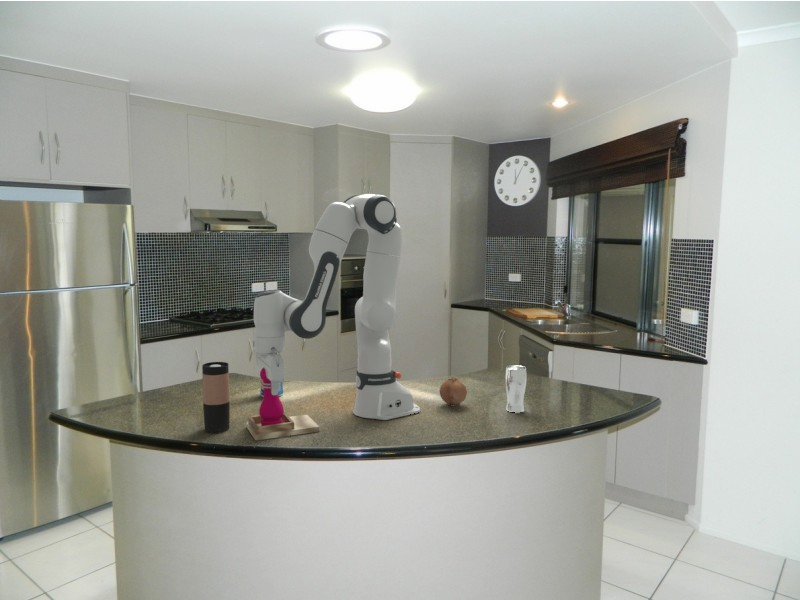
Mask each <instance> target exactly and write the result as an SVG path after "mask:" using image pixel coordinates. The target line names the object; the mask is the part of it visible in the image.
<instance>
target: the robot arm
mask: <svg viewBox="0 0 800 600" xmlns="http://www.w3.org/2000/svg"><path fill="white" fill-rule="evenodd" d="M396 209H397V208H396V205H395V203H394V202H393V200H392V199H391V198H390V197H388V196H386V195H384V194H383V195H382V194H374V193H365V194H360V195H359V194H356V195H355V194H354V195H352V196H350V197H349V196H348V198H346V199H345V200H344V201H343V202H341V201H340V202H339V201H334V202H331V203H330V204H328V205H327V207H326V208H325V210H324V211H323V213H322V214H321V216H320V217H319V219H318V222H317V223H316V226H315V228H314V230H313V233H312V235H311V237H310V240H309V247H308V254H309V256H310V259H311V260H312V262H313V270H314V271H313V276H312V278H311V280H310V284H309V287H308V289H307V292H306V295H305V298H304V299H303V300H300V299H298V298H294V297H292V296H290V295H288V294H286V293H284V292H282V291H281V290H280V289H269V290H265V291H261V292H259V293H258V294H257V295H256V296H255V299H254V303H253V323H254V326H255V327H254V333H253V340H252V346H253V348H254V352H255V361H256V366H257V369H258V371H259V372H260V371H261V370H262V368H265V371H266V377H267V378H268V379H269V380H270V381H271V384H272V385H271V394H272V395H277V394H278V387H279V382H283V383H284V381H285V363H284V358H283V355H282V354H281V353H282V352H284V351H285V350H286V337H285V333H286V332H287V331H288V332H289V331H291V332H293V333H294V334H295V335H296V336H297V337H299V338H301V339H303V340H305V339H306V340H308V339H313V338H316V337H317V336H319V335H320V334H321V333H322V332H323V330H324V328H325V327H326V321H327V318H326V317H327V316H326V315H327V305H328V302H329V298H330V296H331V292H332V290H333V287H334V284H335V282H336V278H337V275H338V271H339V268H340V265H341V263H342V260H343V258H344V255H345V252H346V250H347V248H348V245H349V243H350V240H351V237H352V235H353V233H354V232H355V231H356V230H357V229H360V230H366V232H367V234H368V235H367V236H368V243H367V247H366V254H365V255H366V256H365V262H364V267H363V273H362V274H363V288H362V289H363V291H362V296H361V297H360V298H359V299H358V300H357V301H356V303H355V306H354V319H355V320H354V321H355V333H356V343H357V370H356V374H355V375H356V377H355V383H356V384H355V385H356V395H355V396H356V397H355V401H354V407H353V410H352V413H353V414H354V416H357V417H360V418H365V419H373V420H374V419H375V420H380V421H381V420H382V421H387V420H388V421H389V420H391V419H396V418H397V419H398V418H400V417H406V416H409V415H410V414H411V415H414V413H415V414H418V412H419V413H420V412H421V407H420V406H419V405H417V403H415V402H414V398H413V394H412V392H411V391H410V390H409V389H407V387H405V386H404V385H402V384H401V383H400V382H399V381H397V379H399V380H400V379H401V378H402V377H403V374H402V372H399V371H395V370H392V344H391V341H390V334H389V333H390V331H389V330H390V329H392V328H393V326H394V325H395V323H396V320H397V309H396V308H397V284H398V283H397V282H398V281H397V280H398V275H399V268H400V262H401V253H402V243H403V242H402V241H403V239H402V238H403V237H402V236H403V235H402V234H403V233H402V227H401V226H400V225H399V224H398V223H397V210H396Z"/></svg>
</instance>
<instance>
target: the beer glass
mask: <svg viewBox="0 0 800 600" xmlns="http://www.w3.org/2000/svg"><path fill="white" fill-rule="evenodd" d="M504 385H505V390H506V391H505V392H506V396H507V397H506V399H507V400H506V406H505V411H506V410H507V411H509V412H508V413H510V412H515V413H514V414H521V413H520V412H523V413H524V412H525V406H524V397H525V394H526V393H525V392H526V388H527V387H526V386H527V367H526V366H524V365H516V364H513V365H512V364H511V365H507V366H506V368H505V384H504ZM507 411H506V412H507Z"/></svg>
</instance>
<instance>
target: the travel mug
mask: <svg viewBox="0 0 800 600" xmlns="http://www.w3.org/2000/svg"><path fill="white" fill-rule="evenodd" d="M201 367H202V369H201V370H202V374H201V377H202V405H203V407H202V408H203V422H204V431H205V432H206V433H208V432H209V433H210V434H219V432H220V433H224V431H225V432H227V431H229V429H230V417H231V416H230V413H231V412H230V411H231V410H230V409H231V407H230V406H231V405H230V404H231V403H230V400H231V399H230V398H231V397H230V378H229V377H230V375H229V374H230V373H229V363H228V362H227V361H210V362H206V363H203V364H202V365H201Z"/></svg>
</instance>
